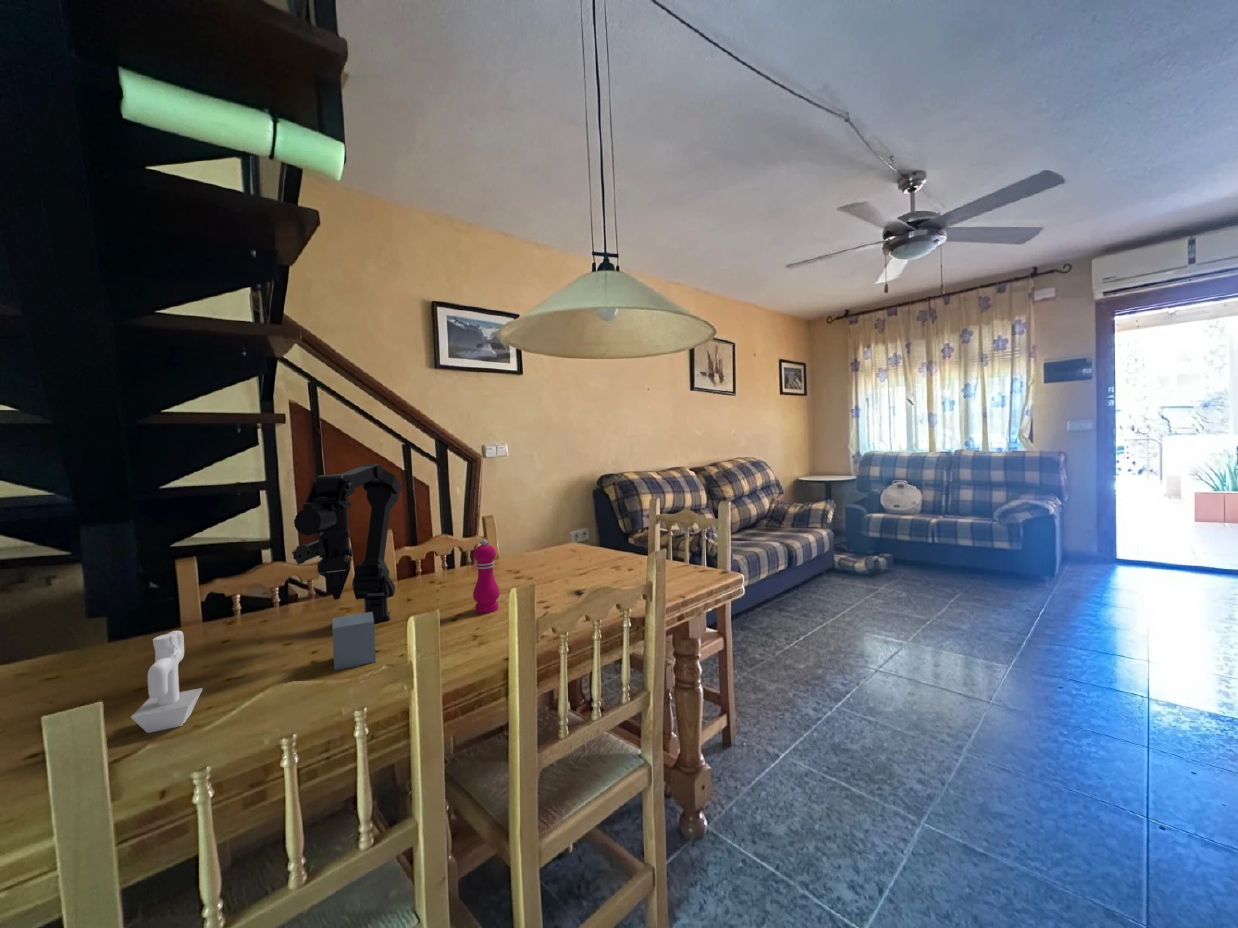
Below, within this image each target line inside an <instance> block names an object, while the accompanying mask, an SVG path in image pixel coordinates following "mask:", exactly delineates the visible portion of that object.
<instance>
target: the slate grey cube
mask: <svg viewBox="0 0 1238 928" xmlns="http://www.w3.org/2000/svg"><path fill="white" fill-rule="evenodd" d="M332 645H333V646H332V648H333V649H332V651H333V668H334V669H333V670H334V671H339V670H344V669H347V668H353V667H359V666H363V665H367V664H372V663H373V664H374V663H376V662H377V660H376V659H377V658H376V637H375V622H374V618H373V612H367V613H364V612H362V613H357V614H356V613H355V614H350V615H349V614H348V615H345V616H343V615H342V616H336V617H333V619H332Z"/></svg>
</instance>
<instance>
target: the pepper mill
mask: <svg viewBox="0 0 1238 928" xmlns="http://www.w3.org/2000/svg"><path fill="white" fill-rule="evenodd" d="M488 542H489V541H488V540H487V539H485V538H484V539H482V540H481V542H480V543H481V545H478V546H477V547H475V549H474V553H473V557H474V560H475V561H476V563H475V565H476V569H477V581H476V584H475V586H474V588H473V595H472V597H473V600H474V601H475V602H476V603H475V604H474V605H475V612H476V613H478V614H488V613H493V612H495V611H498V609H499V601H498V598H499V597H500V588H499V585H498V583H497V582H496V579H495V576H494V567H495V566H496V565H495V561H494V559H495V558H496V555H497V551H496V549H495V547H494V546H493V545H490V544H488Z"/></svg>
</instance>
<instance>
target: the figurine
mask: <svg viewBox="0 0 1238 928" xmlns="http://www.w3.org/2000/svg"><path fill="white" fill-rule="evenodd" d="M184 640H185V638H184V633H183V631H181V630H172V631H169V632H167V633H165V634H161V635H158V636H155V637H154V638H153V639H152V644H153V649H154V653H155V658H154V659H155V661H154V663H153V664H152V665H151V666H150V667H149V669H148V671H147V687H148V688H147V690H148V691H147V692H148V697H149V698H148V699H147V700H146V701H145V702H144V703H142V705H141V706H140V707H139V708H138V709H137V710H136V711H135V712H134V713H133V714H132V715H131V716H130V718H131V720H133V721H134V722H135V723H136V724H137V725H138V726H139V727H140V728H141V729H142V730H144V732H146V733H147V734H150V733H154V732H159V731H164V730H169V729H174V728H179V727H182V726H183V725H184V724H183V723H185V722H186V721H187V720H188V719H189V717H190V716H191V714H193V713H192V712H193V711H194V708H195V706H196V704H197V702H198V700H199V697H200V695H201V693H202V692H203V689H204V688H203V687H201V688H196V689H195V688H194V689H189V690H183V691H180V681H179V663H181V662H182V660H183V658H184V656H185V641H184Z"/></svg>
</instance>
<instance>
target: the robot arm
mask: <svg viewBox="0 0 1238 928" xmlns="http://www.w3.org/2000/svg"><path fill="white" fill-rule="evenodd" d="M359 487H361V488H362V489H363V490H364V491H365V493H366V500H367V502H368V504H369V506H370V509H371V510H370V515H369V523H368V529H367V537H366V538H367V539H366V543H365V552H364V553H365V554H364V559H363V560H362V562H361V563H360V564H356V565H355V568H354V572H353V573H354V574H353V578H352V584H351V586H352V590H353V593H354V597H355V600H363V608H364V609H363V610H364V611H363V613H367V612H373V618H374V623H379V622H385V621H390V620H391V616H390V612H389V609H388V607H389V606H388V599H389V598H392V597H394V596H395V593H396V585H395V583H394V582H393V580H392V579H391V578H390V570H389V568H388V566H387V564H386V562H385V557H386V556H385V554H386V547H387V539H388V531H389V524H390V515H391V509H392V508H393V507H394V506H395V505H396V504H397V502H398V501H399V495H400V493H401V488H402V486H401V483H400V481H399V479H398V478H397V477H396V475H395V474H394V473H392V472H390V471H388V470H386V469H384V467H383V466H382V465H381V464H378V463H371V464H370V463H369V464H368V463H367V464H362V465H360V466H358V467H356V468H353V469H350V470H349V471H348V470H347V471H346V472H345V471H344V472H342V473H341V474H340V473H338V474H321V475H318V476H317V477H316V478H314V481H313V483H312V486H311V488H310V490H309V492H308V495H307V498H306V499H305V503H303V504H302V509H301V510H299V511H298V512H297V514H296V515H295V517H294V520H293V523H294V524H293V525H294V527H295V529H296V531H297V532H298V533H299V534H301V535H303V536H311V535H315V534H319V533H320V534H319V535H318V539H317V540H315V541H312V542H309V543H307V544H306V543H303V544H300V545H297V546H296V548H295V549H293V550H292V552H291V554H292V556H293V557H292V559H293V560H295V562H296V564H297V565H302V564H304V563H305V562H307V561H310V560H312V559H314V558H316V557H318V556H319V561H318V562H317V573H318V574H319V576H322V577H324V578H325V579H327V581H328V585H329V588H330V591H331V594H332V597H333V600H340V598H341V596H342V594H343V591H344V587H345V585H346V582H347V579H348V577H349V575H350V574H349V573H350V571H351V563H352V559H353V558H352V557H353V548H352V547H351V545H350V528H349V526H350V525H349V508H351V507H352V505H353V504H352V503H351V502H350V501H349V500H348V499H349V498H350V497H351V496H352V495H353V494H354V493H356V491H355V489H356V488H359Z"/></svg>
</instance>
